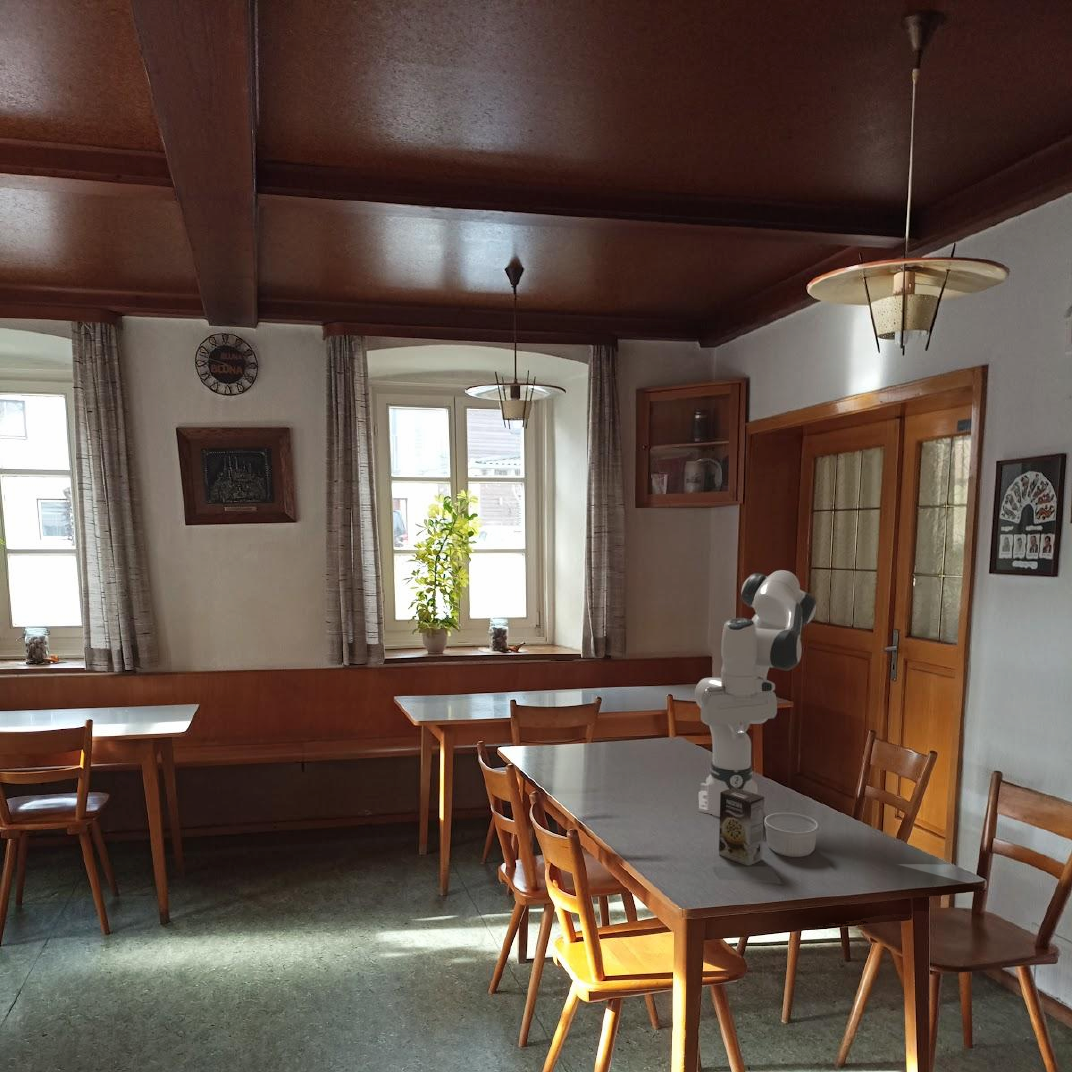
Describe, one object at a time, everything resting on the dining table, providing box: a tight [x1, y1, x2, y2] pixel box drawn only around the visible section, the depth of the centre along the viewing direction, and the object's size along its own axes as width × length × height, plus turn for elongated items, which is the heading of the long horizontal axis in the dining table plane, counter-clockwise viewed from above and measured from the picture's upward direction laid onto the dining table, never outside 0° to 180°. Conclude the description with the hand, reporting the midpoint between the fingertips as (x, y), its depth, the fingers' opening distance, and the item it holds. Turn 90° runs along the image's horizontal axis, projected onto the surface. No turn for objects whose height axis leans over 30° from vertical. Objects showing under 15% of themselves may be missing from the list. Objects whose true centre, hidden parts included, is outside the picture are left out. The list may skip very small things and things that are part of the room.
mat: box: [712, 866, 783, 885], centre depth 202 cm, size 10×14×1 cm
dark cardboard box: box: [718, 787, 765, 867], centre depth 213 cm, size 9×6×16 cm
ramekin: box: [763, 812, 819, 858], centre depth 219 cm, size 13×13×7 cm
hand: (738, 738), depth 214 cm, fingers closed
